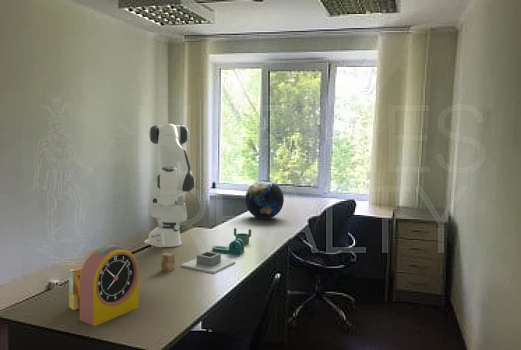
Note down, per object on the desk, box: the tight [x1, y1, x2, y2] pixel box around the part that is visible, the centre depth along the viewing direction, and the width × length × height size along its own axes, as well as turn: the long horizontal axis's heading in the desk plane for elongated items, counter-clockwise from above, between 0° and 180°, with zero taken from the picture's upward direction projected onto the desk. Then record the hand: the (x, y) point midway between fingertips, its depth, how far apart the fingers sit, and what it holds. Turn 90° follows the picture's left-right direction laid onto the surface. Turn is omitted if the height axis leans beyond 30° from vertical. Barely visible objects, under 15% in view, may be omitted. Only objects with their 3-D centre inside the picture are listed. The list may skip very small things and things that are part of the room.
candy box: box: [68, 266, 83, 311], centre depth 180 cm, size 9×4×15 cm, turn 137°
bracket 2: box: [233, 227, 252, 246], centre depth 283 cm, size 9×9×9 cm
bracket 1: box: [211, 238, 245, 256], centre depth 263 cm, size 18×7×8 cm, turn 73°
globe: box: [244, 179, 285, 220], centre depth 356 cm, size 30×30×30 cm
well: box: [180, 250, 236, 275], centre depth 238 cm, size 20×20×6 cm
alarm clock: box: [79, 244, 140, 327], centre depth 174 cm, size 21×9×26 cm, turn 148°
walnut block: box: [160, 252, 176, 273], centre depth 228 cm, size 4×4×8 cm
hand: (168, 228), depth 226 cm, fingers open, 8 cm apart
